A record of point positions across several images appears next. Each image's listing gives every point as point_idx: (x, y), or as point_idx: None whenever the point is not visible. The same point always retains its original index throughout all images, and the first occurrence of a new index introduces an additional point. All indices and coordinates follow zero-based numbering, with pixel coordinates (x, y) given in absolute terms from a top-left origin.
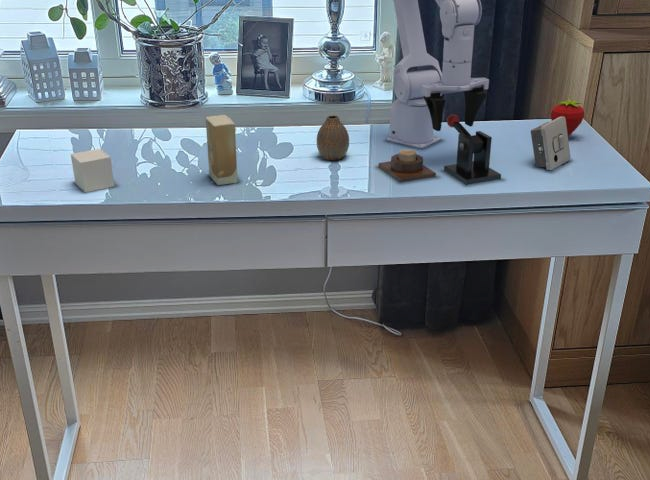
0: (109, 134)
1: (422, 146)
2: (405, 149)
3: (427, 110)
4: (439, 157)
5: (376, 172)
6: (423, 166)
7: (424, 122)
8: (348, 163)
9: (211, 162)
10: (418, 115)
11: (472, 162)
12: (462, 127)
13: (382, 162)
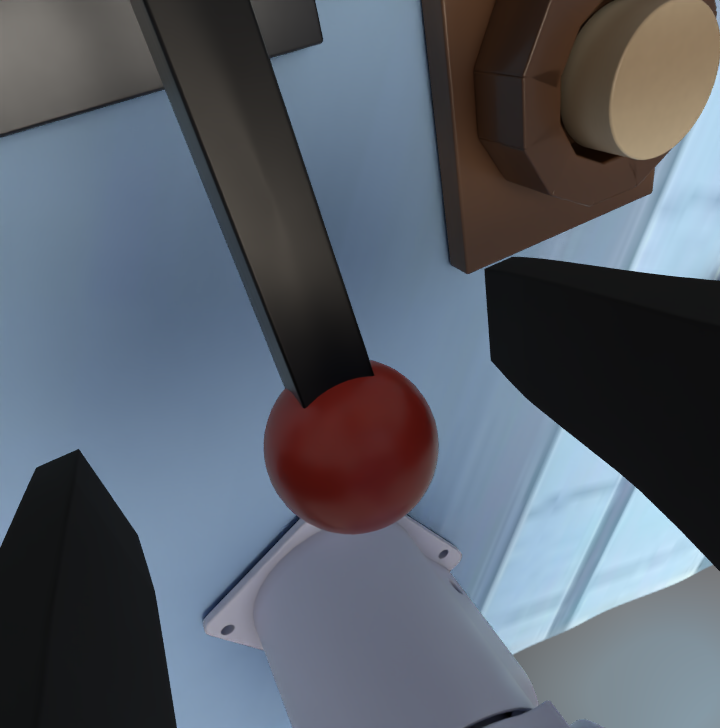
0: None
1: None
2: (649, 151)
3: (407, 719)
4: (265, 356)
5: None
6: (465, 80)
7: (382, 633)
8: (698, 260)
9: None
10: (449, 658)
11: (19, 91)
12: (264, 225)
13: (634, 199)
